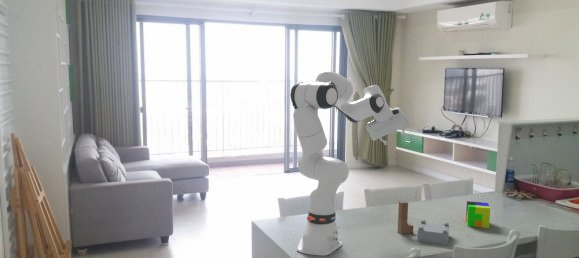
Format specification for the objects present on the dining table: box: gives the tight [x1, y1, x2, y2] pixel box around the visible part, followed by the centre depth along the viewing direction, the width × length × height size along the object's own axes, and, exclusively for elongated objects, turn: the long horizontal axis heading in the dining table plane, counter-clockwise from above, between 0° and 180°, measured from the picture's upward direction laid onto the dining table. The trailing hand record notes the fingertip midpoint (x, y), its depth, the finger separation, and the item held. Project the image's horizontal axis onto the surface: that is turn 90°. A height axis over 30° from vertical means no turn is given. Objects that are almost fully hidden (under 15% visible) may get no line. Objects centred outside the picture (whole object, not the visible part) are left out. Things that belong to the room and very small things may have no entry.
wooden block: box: [397, 200, 414, 235], centre depth 227 cm, size 7×3×15 cm, turn 106°
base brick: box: [416, 219, 450, 246], centre depth 220 cm, size 13×13×6 cm
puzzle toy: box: [465, 200, 491, 229], centre depth 241 cm, size 10×10×10 cm
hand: (395, 140), depth 238 cm, fingers open, 8 cm apart
